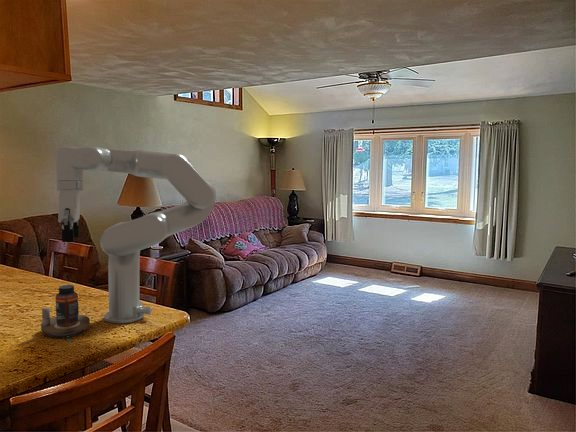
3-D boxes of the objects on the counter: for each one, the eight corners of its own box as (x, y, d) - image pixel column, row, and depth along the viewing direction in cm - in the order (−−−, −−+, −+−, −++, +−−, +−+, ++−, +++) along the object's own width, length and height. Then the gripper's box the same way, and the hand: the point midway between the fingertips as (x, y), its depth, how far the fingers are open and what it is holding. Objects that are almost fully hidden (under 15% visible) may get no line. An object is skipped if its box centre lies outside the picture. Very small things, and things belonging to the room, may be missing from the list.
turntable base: (92, 326, 137) (92, 322, 137) (70, 341, 125) (70, 337, 125) (59, 324, 138) (58, 321, 138) (34, 340, 125) (34, 336, 125)
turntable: (81, 316, 142) (80, 296, 141) (96, 327, 132) (96, 306, 132) (35, 325, 133) (35, 304, 132) (48, 337, 123) (48, 315, 123)
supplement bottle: (82, 320, 133) (81, 284, 132) (72, 327, 127) (71, 289, 126) (63, 319, 133) (62, 283, 132) (52, 327, 127) (50, 288, 126)
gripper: (62, 184, 147) (63, 235, 149) (50, 187, 130) (51, 244, 132) (86, 185, 149) (87, 235, 151) (78, 187, 133) (79, 243, 134)
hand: (70, 239), depth 141 cm, fingers open, 9 cm apart
